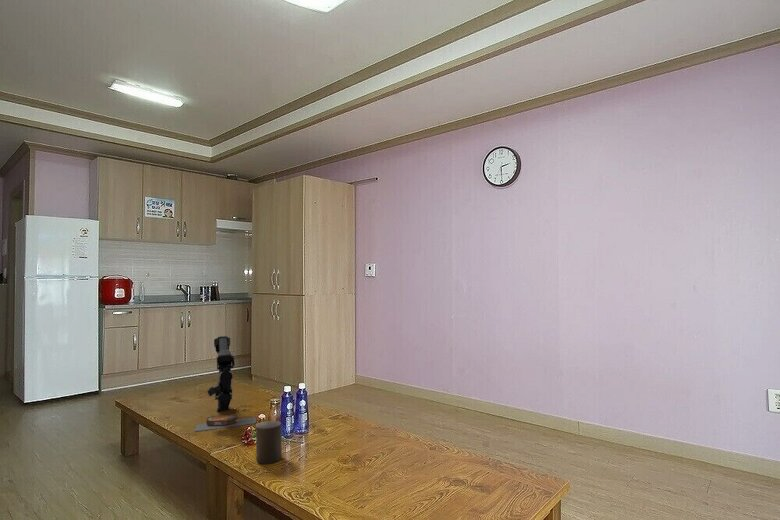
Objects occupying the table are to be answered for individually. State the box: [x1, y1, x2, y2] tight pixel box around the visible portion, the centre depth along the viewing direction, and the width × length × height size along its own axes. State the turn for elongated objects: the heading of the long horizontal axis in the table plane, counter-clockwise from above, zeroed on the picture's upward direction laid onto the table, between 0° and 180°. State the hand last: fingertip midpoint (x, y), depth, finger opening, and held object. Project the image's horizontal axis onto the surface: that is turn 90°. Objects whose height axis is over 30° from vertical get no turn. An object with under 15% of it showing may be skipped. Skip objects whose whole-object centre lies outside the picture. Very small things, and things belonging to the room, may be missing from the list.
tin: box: [206, 414, 238, 425], centre depth 225 cm, size 15×3×8 cm
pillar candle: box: [255, 420, 283, 465], centre depth 178 cm, size 10×10×15 cm
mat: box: [194, 416, 257, 432], centre depth 223 cm, size 10×28×1 cm, turn 109°
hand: (225, 410), depth 225 cm, fingers closed
